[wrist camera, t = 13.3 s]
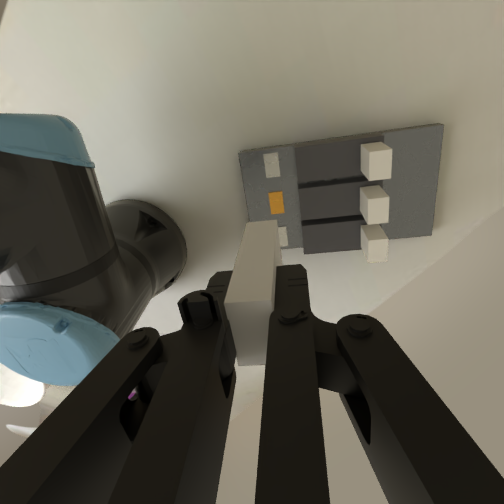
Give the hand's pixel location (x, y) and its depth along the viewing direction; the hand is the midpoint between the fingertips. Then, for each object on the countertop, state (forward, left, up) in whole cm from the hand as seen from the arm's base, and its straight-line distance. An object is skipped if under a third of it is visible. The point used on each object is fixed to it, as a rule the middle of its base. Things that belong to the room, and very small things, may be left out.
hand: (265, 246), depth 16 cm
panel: (+7, -7, -28) cm, 30 cm away
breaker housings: (+7, -7, -27) cm, 29 cm away
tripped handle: (+10, -7, -25) cm, 28 cm away
